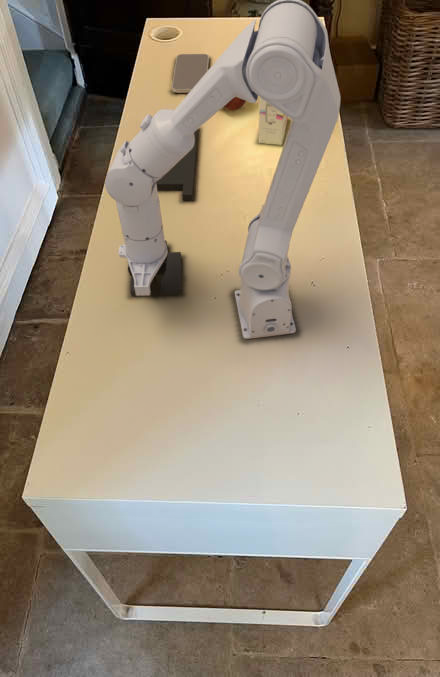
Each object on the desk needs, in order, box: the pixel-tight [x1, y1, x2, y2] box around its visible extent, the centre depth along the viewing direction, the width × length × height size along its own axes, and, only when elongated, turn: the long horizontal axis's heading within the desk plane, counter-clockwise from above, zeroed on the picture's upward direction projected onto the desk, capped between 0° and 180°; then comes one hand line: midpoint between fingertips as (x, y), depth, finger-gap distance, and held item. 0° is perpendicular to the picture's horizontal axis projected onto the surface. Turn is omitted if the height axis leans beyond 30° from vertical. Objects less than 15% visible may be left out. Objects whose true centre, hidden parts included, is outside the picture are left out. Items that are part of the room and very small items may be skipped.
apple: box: [223, 97, 247, 111], centre depth 123 cm, size 7×8×8 cm
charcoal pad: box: [129, 239, 183, 298], centre depth 99 cm, size 11×8×2 cm
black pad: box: [156, 128, 199, 202], centre depth 115 cm, size 22×10×2 cm, turn 179°
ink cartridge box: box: [258, 96, 289, 146], centre depth 115 cm, size 9×5×15 cm, turn 168°
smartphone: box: [171, 53, 210, 94], centre depth 134 cm, size 7×1×15 cm
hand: (153, 291), depth 95 cm, fingers closed, pressing on charcoal pad
